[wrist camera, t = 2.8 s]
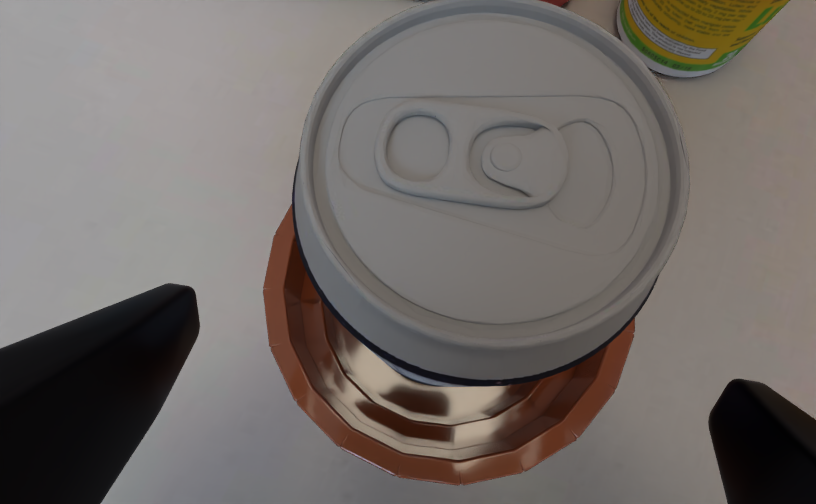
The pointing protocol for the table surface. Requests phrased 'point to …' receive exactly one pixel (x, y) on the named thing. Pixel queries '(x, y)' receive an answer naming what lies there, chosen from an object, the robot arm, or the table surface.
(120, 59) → the table surface
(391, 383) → the bowl
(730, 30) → the supplement bottle
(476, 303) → the beverage can
